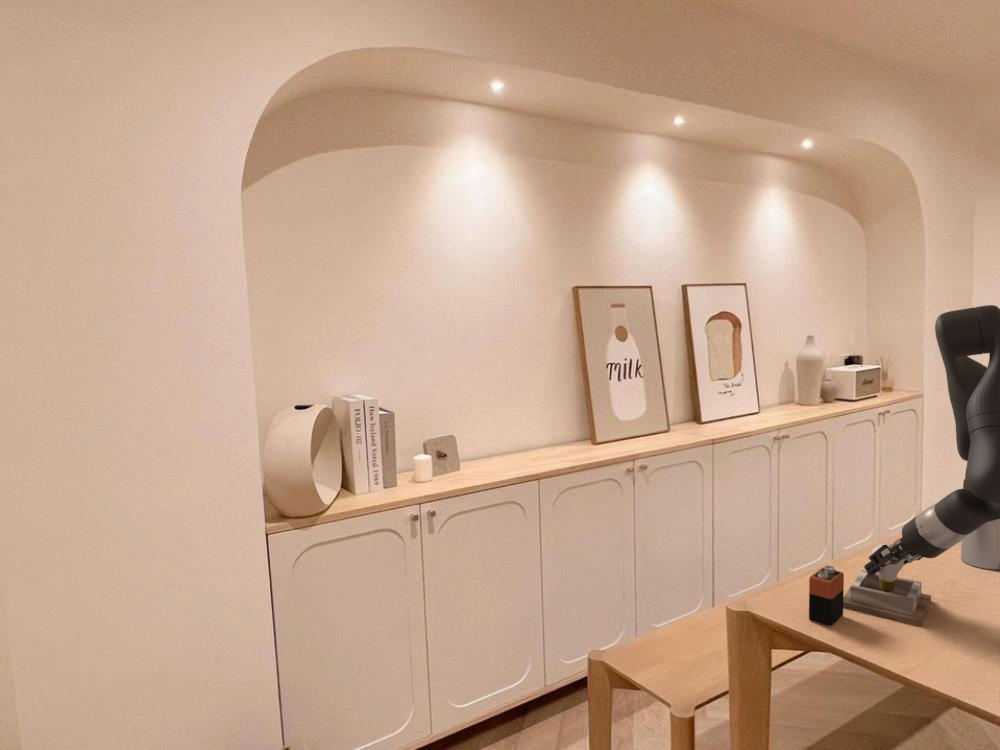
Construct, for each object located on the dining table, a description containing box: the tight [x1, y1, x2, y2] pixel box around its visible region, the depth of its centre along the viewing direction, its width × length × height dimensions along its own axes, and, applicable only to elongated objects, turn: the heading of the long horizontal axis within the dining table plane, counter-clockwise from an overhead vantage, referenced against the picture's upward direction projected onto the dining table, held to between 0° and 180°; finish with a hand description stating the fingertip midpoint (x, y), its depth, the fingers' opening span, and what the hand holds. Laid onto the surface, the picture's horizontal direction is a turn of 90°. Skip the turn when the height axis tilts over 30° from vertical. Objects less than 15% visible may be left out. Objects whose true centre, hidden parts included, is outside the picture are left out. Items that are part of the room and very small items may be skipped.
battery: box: [808, 565, 845, 627], centre depth 127 cm, size 4×7×10 cm, turn 133°
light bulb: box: [870, 543, 905, 592], centre depth 132 cm, size 6×6×10 cm
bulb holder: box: [843, 569, 932, 627], centre depth 133 cm, size 14×14×4 cm
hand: (879, 568), depth 134 cm, fingers closed on light bulb, 6 cm apart
